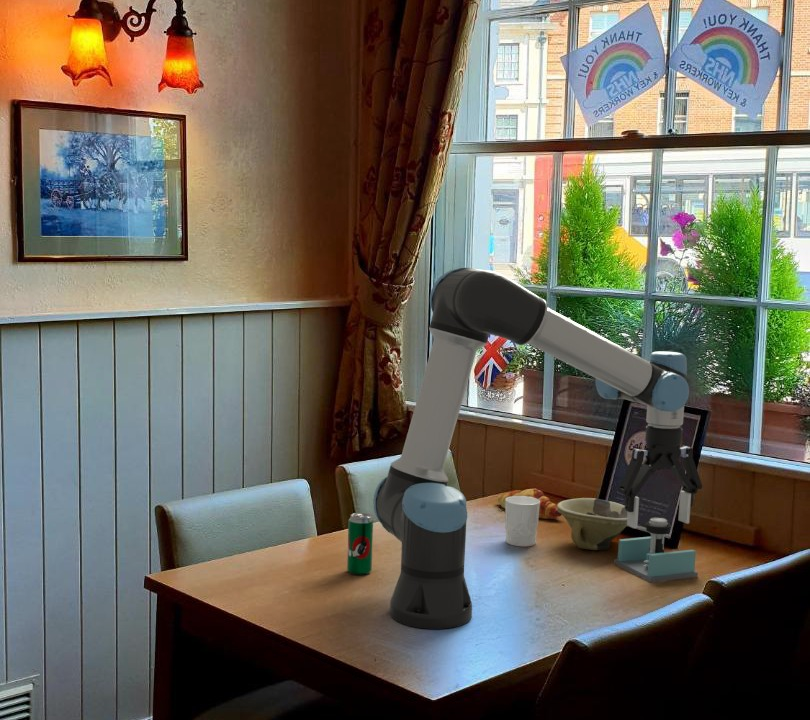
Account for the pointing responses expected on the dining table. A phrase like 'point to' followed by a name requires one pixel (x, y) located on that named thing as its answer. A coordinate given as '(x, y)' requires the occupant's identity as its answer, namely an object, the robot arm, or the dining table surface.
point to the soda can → (360, 544)
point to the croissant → (546, 507)
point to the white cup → (521, 520)
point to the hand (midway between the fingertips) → (658, 524)
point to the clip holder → (655, 561)
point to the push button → (657, 535)
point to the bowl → (593, 521)
